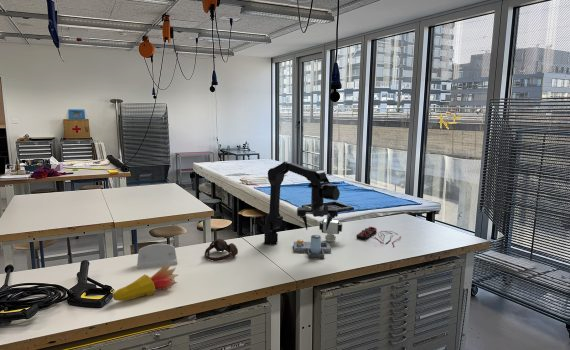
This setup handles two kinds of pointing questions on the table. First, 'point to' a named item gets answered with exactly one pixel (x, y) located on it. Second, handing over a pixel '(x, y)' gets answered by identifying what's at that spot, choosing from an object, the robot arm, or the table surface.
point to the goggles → (221, 249)
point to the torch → (147, 284)
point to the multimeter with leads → (370, 232)
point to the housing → (307, 245)
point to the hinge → (156, 256)
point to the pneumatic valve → (331, 229)
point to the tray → (315, 255)
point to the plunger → (299, 242)
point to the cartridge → (315, 244)
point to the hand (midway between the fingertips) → (316, 229)
